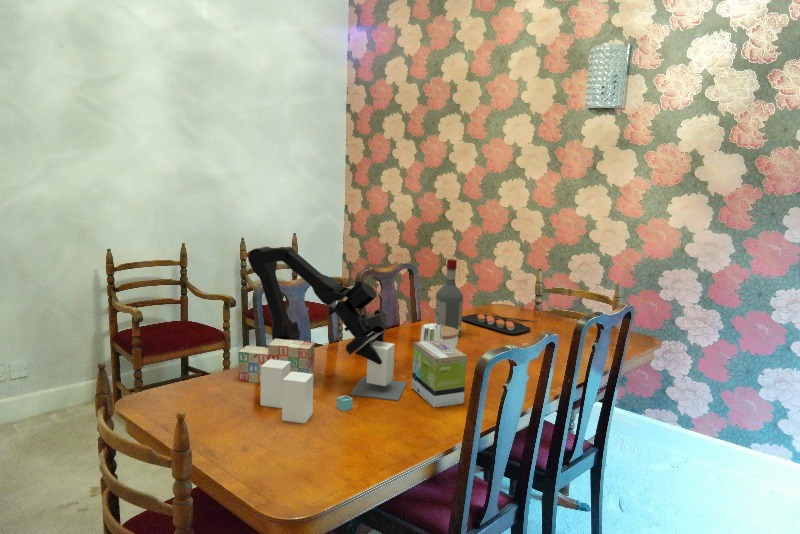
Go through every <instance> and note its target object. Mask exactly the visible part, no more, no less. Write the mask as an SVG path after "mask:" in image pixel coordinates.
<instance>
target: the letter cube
mask: <svg viewBox="0 0 800 534" xmlns="http://www.w3.org/2000/svg"><path fill="white" fill-rule="evenodd" d="M353 404H354V401H353V398H352V397H350V396H348V395H346V394H345V395H342V396H338V397H336V408H337V409H338V410H340V411H341V412H347V411H350V410H353Z"/></svg>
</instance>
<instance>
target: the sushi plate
mask: <svg viewBox="0 0 800 534" xmlns="http://www.w3.org/2000/svg"><path fill="white" fill-rule="evenodd" d="M515 320H516V321H515ZM461 321H465V322H468V323H471V324H475V325H478V326H481V327H485V328H488V329H492V330H495V331H498V332H502V333H504V334H509V335H510V334H511V335H517V334H522V333H526V332H529V331H531V330H532V328H531V327H529V326H528V325H527V326H526V325H524V324H523V323H520V322H517V321H521V322H528V323H529V322H532V323H539V322H540V321H538V320H530V319H521V318H514V317H513V318H512V317H504V316H503V317H502V316H500V315H497V314H495V313H492V315H489V314H484V313H473V314H468V315H464V316H463V315H462V320H461Z"/></svg>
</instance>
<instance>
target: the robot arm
mask: <svg viewBox="0 0 800 534" xmlns="http://www.w3.org/2000/svg"><path fill="white" fill-rule="evenodd" d="M247 260H248V263H249V265H250V267H251V269H252V271H253V273H255V275H257V277H258V278H259V279H260V280H259V281H260V284H261V287H262V289H263V294H264V296H265V300H266V303H267V307H268V311H269V313H270V317H271V320H272V328H271V338H272V339H271V340H272V341H273V340H274V339H284V340H294V341H295V340H298V341H301V340H300V335H301V331H300V329H299V324H298V321H294V322H293V321H292V320H291V319H290V317H289V316H288V312H287V308H286V305H285V302H284V298H283V295H282V292H281V287H280V285H279V282H278V278H277V274H276V272H277V267H278V266H277V265H278V262H283V263H284V264H285V265H286V266H287V267H289V268H290V269H291V270H292V271H294V273H295V274H297V275H298V276H299V277H300V278H301V279H303V280H304V281H305V282H306V283H307V284H308V285H309V286H310V287H311V288H312V291H313V292H314V293H313V294H315V296H316V297H317V298H318V299H319V300H320V301H321V303H323V304H325V305H330V306H329V307H328V314H327V315H328V317H332V316H333V315H336V316H337V318H338V319H339V320H340V321H341V323H343V325H344V326H345V327H344V331H345V332H348V331H349V332H350V334H351V335H352V336H353V339H352V340H351V341H350V342H348V343H347V344H346V345H345V351H346V353H348V355H349V356H351V355H352V354H353V353H354V354H355V355H358V356H361V357H363V358H365V359H369V360H371V361H373V362H375V363H377V364H379V365H380V364H381V363H382V361H381V359H380V357H379V356H378V354H377V352H376V351H375V349H374V348H373V342H375V341H380V342H386V341H385V339H384V338H385V333H386V330H387V328H388V326H387V324H385V323H387V322H388V321H387V318H386V317H387V316H388V314H387V313H385V311H384V310H383V309H381V308H378V309H376V310H374V313H373V315H370V316H367V314H366V313H363V314H361V312H360V311H359V310H363V309H365V308H366V307H367V306H368V305H369V304H370V303H372V301H374V300H375V299H376V298H377V291H376V290H375V289H374V288H373V286H372V285H370V284H368V283H366V282H365V281H364V280H362V279H360V280H358V281H357V282H356V283H355V284H354V286H352V288H350V287H346V286H343V284H342V283H340V282H339V281H337V280H335V279H334V278H332V277H329V276H326V275H325V274H323V273H321V272H320V271H318V270H317V269H316V268H315V267H314V266H313V265H312V264H310V263H309V262H308V260H306V259H305V258H303V257H302V256H301V255H300V254H299V253H297V251H296V250H295V249H294V248H293V247H292V246H285V247H279V248H272V247H270V246H262V247H258V248H254V249H252V250H250V251H249V254H248V255H247ZM344 299H345V300H344ZM336 302H337V303H336ZM334 303H336V304H335V305H332V304H334ZM358 309H359V310H358ZM265 347H266V348H268V345H267V346H265Z"/></svg>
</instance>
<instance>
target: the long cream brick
mask: <svg viewBox="0 0 800 534" xmlns="http://www.w3.org/2000/svg"><path fill="white" fill-rule="evenodd" d="M290 365H291V362H290V361H282V360H273V359H269V360H268V361H267V362H266V363H264V364H263V365H262V366H261V383H260V401H259V402H260V406H262V407H263V406H264V407H269V408H278V409H282V395H283V379H284V378H285V377H286V376H287V375H288V374H289V373H290Z"/></svg>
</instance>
